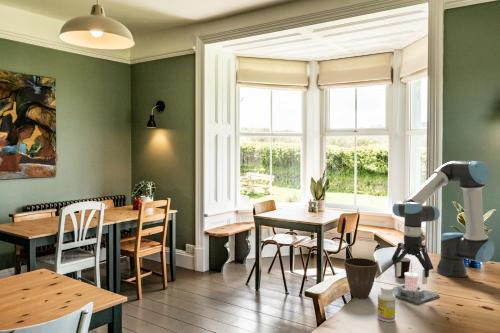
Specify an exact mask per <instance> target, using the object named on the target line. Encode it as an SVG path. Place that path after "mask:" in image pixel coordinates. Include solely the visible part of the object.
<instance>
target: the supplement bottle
mask: <svg viewBox="0 0 500 333" xmlns="http://www.w3.org/2000/svg"><path fill="white" fill-rule="evenodd" d="M393 288H394V287H393V286H390V285H381V286H380V292H378V294H377V318H378V319H379V320H380V321H381V320H382V321H381V322H385V321H386V323H391V322H395V319H396V297H395V295H394V294H393Z"/></svg>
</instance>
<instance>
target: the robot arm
mask: <svg viewBox="0 0 500 333" xmlns="http://www.w3.org/2000/svg"><path fill="white" fill-rule="evenodd" d="M489 178H490V171H489V167H488V166H487V165H486V163H484V162H483V161H478V160H451V161H448V162H445V163H443V164H442V165H440V166H439V167H437V168H436V169H435V170H434V171H432V172H431V176H430V177H429V178H428V179H426V180H425V181H424V182H423V183H422V184H421V185H420V186H419V187H418V188H417V189H415V191H413V192H412V193H411V194H410V195H409V196H408V197H407V198H405V199H404V200H403V201H397V202H395V203H394V204H393V206H392V213H393V214H394V216H396V217H400V218H404V223H403V224H404V226H403V234H404V235H403V242H398V243H397V247H396V249H395V251H394V253H393V255H392V256H391V261H392V262H393V261H395V268H394V270H395V269H396V276H397V277H398V276H401V262H400V261H401V260H402V259H403V258H405V257H406V256H407V255H409V256H410V255H411V256H415V258H417V260H418V262H419V263H420V265H421V266H422V281H421V284H422V285H427V284H428V278H429V277H430V271H431V270H434V266H433V263H432V260H431V259H430V255H429V252H428V248H427V247H421V244H422V237H421V236H422V223H423V222H424V223H425V222H434V221H438V219H439V217H440V215H441V214H440V209H439V208H438V207H437V206H435V205H424V204H425V203H426V202H427V201H428V200H429V199H430V198H431V197H432V196H433V195H434V194H436V192H438V191H439V190H440V189H441V188H442V187H445V186H447V185H448V184H450V183H458V184H459V188H460V189H461V190H462V195H463V208H464V209H463V210H464V222H465V233H464V232H463V233H462V232H444V233H442V234H441V236H440V258H439V261H438V264H437V266H436V273H438V274H440V275H443V276H447V277H452V278H465V277H467V276H468V274H467V268H466V264H465V260H466V259H467V260H470V261H473V262H476V263H482V264H483V263H484V264H485V263H487V262H489V261H490V260H491V259H492V257H493V255H494V253H495V245H494V243H493V242H492V241H490V240H489V235H488V234H486V233H485V231H486V230H485V218H484V217H485V216H484V206H483V205H484V204H483V192H482V191H483V190H482V189H484V188H485V186H486V184H487V183H488V182H489ZM402 250H403V251H402ZM401 251H402V252H401ZM397 257H398V258H397ZM464 259H465V260H464Z"/></svg>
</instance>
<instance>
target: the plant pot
mask: <svg viewBox="0 0 500 333" xmlns="http://www.w3.org/2000/svg"><path fill="white" fill-rule="evenodd" d="M343 263H344V270H345V275H346V279H347V283H348V287H349V290H350V293H351V296H352V297H354V298H355V299H356V298H357V299H368V298H369V297H370V294H371V292H372V289H373V286H374V282H375V280H376V275H377V274H376V273H377V269H378V262H377V261H375V260H372V259H368V258H361V257H353V258H352V257H351V258H350V257H349V258H346V259H344V262H343Z"/></svg>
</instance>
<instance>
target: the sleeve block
mask: <svg viewBox="0 0 500 333" xmlns="http://www.w3.org/2000/svg"><path fill="white" fill-rule="evenodd" d="M393 294H394V295H395V297H396V298H397V299H399V300H402V301H406V302H408V303H411V304H414V305H417V306H418V305H421V304H424V303H427V302H430V301H432V300H436V299H439V298H440V294H439V293H438V294H437V293H435V292H431V291H427V290H425V289H424V288H423V287H422V286H420V285H417V289H416V290H414V291H413V290H407V289H405V283H401V284H398V286H394V287H393Z"/></svg>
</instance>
